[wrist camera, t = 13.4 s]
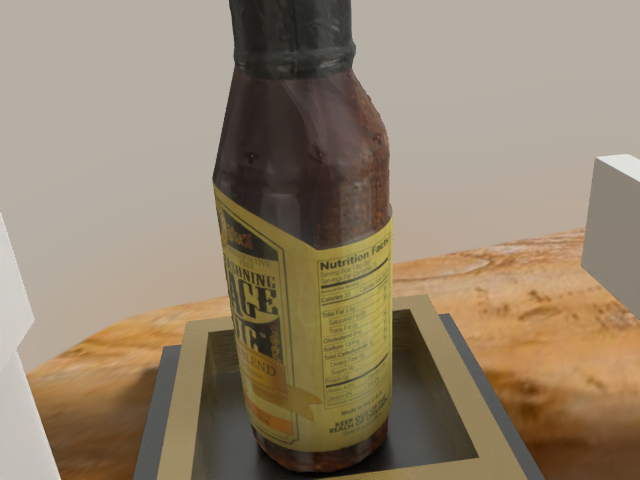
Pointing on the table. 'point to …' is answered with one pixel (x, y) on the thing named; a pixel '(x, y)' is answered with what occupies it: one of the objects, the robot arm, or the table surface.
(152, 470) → the plate
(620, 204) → the robot arm
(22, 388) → the milk carton
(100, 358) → the table surface
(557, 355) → the table surface
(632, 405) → the table surface
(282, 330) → the sauce bottle
